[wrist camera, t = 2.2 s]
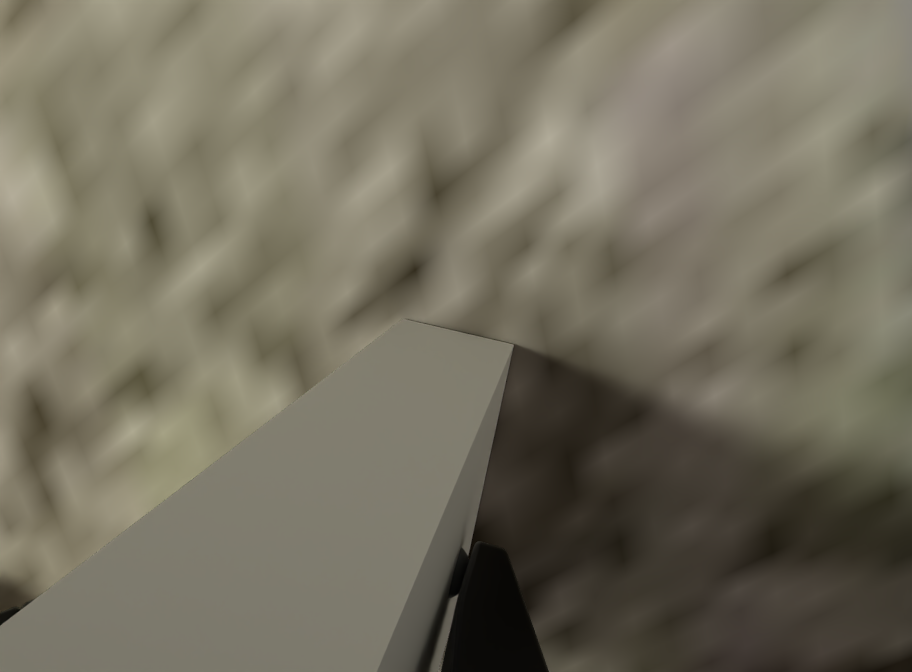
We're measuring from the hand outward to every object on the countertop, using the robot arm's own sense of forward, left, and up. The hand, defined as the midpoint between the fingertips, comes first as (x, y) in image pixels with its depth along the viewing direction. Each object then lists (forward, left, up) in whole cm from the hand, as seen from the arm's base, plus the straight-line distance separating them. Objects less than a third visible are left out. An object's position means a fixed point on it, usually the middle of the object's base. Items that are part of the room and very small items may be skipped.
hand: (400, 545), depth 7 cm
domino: (0, 0, -2) cm, 2 cm away
